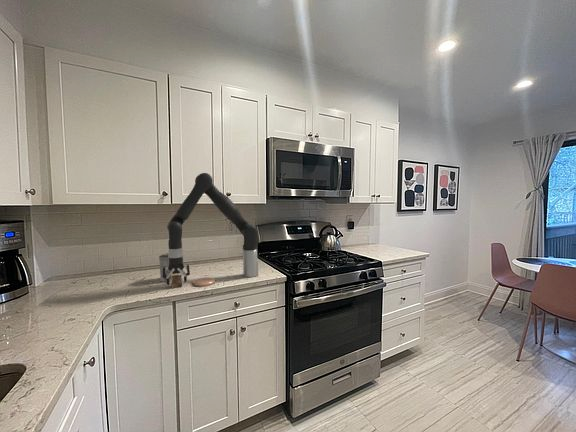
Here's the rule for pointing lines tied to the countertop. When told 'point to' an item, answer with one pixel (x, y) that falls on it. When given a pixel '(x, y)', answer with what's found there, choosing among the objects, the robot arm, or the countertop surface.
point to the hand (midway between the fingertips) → (176, 283)
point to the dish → (204, 282)
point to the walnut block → (176, 281)
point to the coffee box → (165, 262)
